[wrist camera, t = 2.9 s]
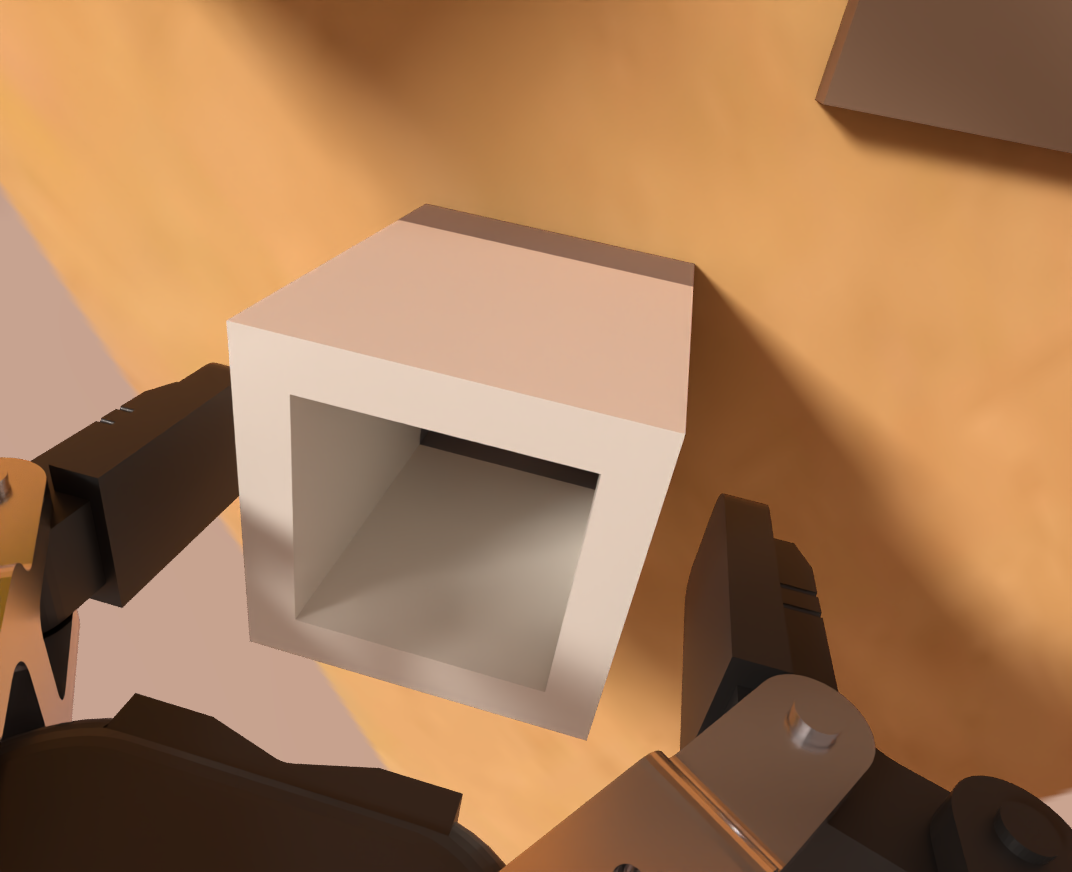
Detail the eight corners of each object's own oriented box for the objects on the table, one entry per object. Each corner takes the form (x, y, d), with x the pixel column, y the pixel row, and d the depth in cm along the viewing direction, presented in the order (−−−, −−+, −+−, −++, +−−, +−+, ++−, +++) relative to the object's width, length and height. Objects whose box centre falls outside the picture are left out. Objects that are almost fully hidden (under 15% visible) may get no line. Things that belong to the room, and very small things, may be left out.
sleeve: (425, 203, 14) (226, 320, 8) (694, 263, 14) (685, 434, 8) (407, 433, 17) (250, 641, 11) (629, 490, 17) (586, 740, 11)
